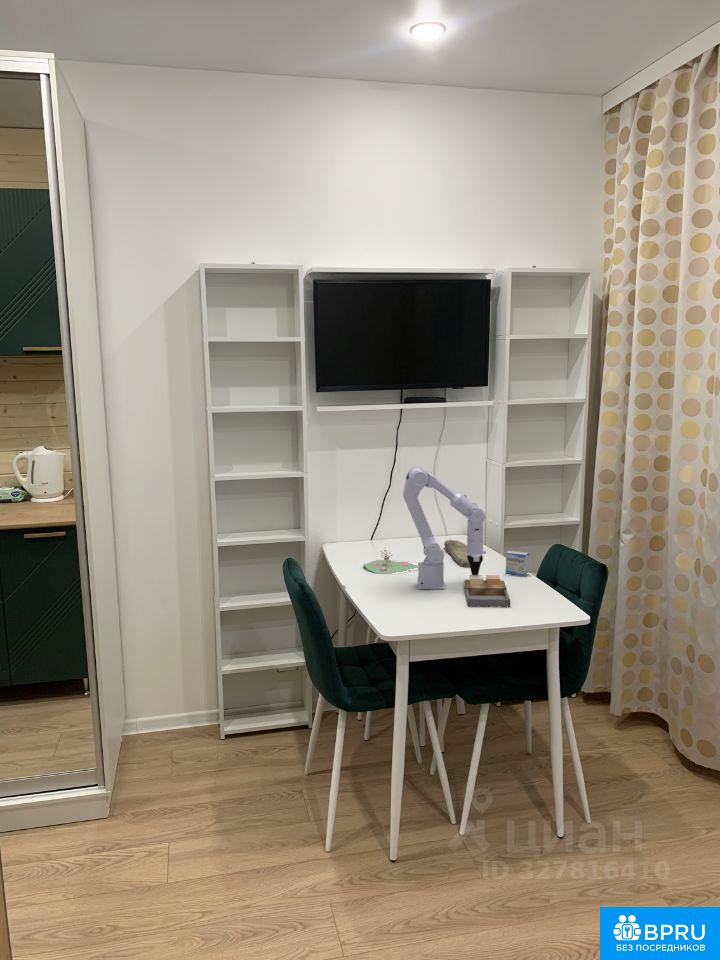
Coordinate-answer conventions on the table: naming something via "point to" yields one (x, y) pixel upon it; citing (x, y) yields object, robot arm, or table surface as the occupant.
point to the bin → (487, 600)
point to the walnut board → (485, 588)
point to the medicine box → (517, 563)
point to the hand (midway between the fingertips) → (474, 575)
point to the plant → (388, 566)
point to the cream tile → (476, 579)
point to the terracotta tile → (492, 579)
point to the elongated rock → (458, 552)
